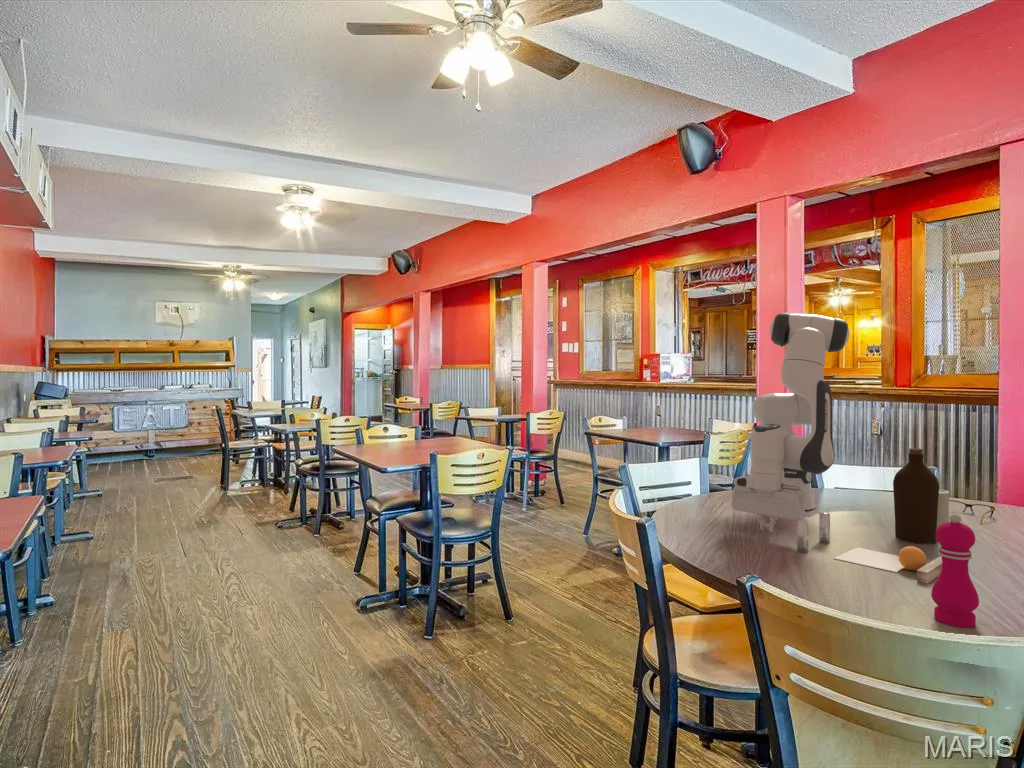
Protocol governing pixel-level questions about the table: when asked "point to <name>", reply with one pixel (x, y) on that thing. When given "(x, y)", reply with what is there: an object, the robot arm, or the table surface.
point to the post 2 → (824, 527)
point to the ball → (912, 558)
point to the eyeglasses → (977, 504)
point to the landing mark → (872, 559)
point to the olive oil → (916, 500)
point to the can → (943, 507)
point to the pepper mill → (955, 575)
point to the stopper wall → (930, 571)
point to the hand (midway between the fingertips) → (767, 530)
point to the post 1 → (802, 535)
